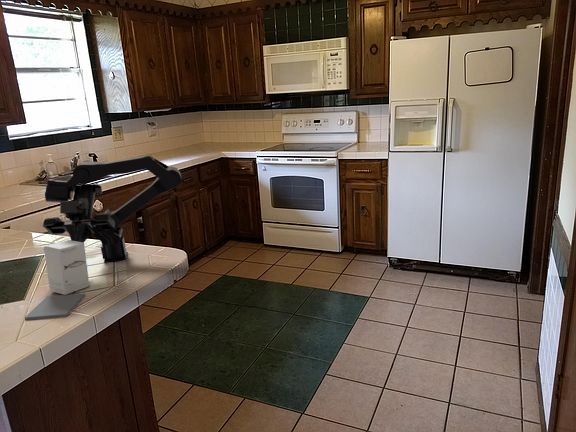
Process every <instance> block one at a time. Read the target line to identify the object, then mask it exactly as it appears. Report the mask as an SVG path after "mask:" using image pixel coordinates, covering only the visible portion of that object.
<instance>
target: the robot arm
mask: <svg viewBox="0 0 576 432" xmlns="http://www.w3.org/2000/svg"><path fill="white" fill-rule="evenodd" d="M141 170H147V171H148V172H150V173H151V174H153V175H154V176H155V177H156V179H155V180H154V181H153V182H152V183H151V184H150V185H149V186H147V187H146V188H144V189H143V190H142V191H140V192H139V193H137V194H136V195H135V196H134V197H132V198H131V199H130V200H128V201H127V202H126V203H124V204H123V205H121V206H120V207H118V209H116V210H113V211H111V210H110V209H109V208H107V209H106V210H105V211H104V212H103V213H95V208H94V204H95V203H94V202H95V197H96V194H99V195H100V194H102V195H103V189H102V185H100V184H99V183H98V182H95V181H97V180H100V179H102V178H105V177H107V176H112V175H113V176H114V175H118V174H125V173H129V172H136V171H141ZM91 182H92V183H93V182H95V183H93V184H91ZM181 183H182V173H181V172H180V170H179V169H178V168H177V167H174V166H168V165H167V164H165V163H164V162H162V161H160V160H158V159H156V158H155V157H154V156H152V155H151V154H145V155H143V156H142V155H141V156H137V157H130V158H125V159H118V160H111V161H105V162H101V161H83V162H81V163H79V164H77V165H76V166H75V167H74V168H73V170H72V176H71V177H69V178H68V179H67V180H57V179H51V178H49V179H48V180H47V183H46V187H45V192H44V198H45V202H47V203H59V210H60V211H59V213H60V214H64V216H65V218H66V219H64V220H62V219H61V218H60V217H59V216H56V217H47V218H44V220H43V223H42V228H44V229H45V230H46V231H48V232H49V233H50V234H51V235H63V234H65V233H67V234H68V235H69V237H70V240H71V241H77V242H83V243H84V244H85V242H86V241H87V240H88V238H90V236H91V235H93V237H95V238H97V239H98V240H99V241H100V242H101V246H100V251H101V255H102V260H103V262H104V263H112V262H119V261H125V260H127V257H128V254H129V252H128V251H127V247H126V242H125V237H124V236H122V235H123V230H124V229H123V228H122V227H120V225H121V224H122V223H123V222H124V221H126V220H127V219H128V218H130V217H131V216H132V215H134V214H135V213H137V212H139V210H140V209H142V208H143V207H145V206H146V205H147V204H149V203H150V202H152V201H153V200H154V199H156V198H157V197H158V196H160V195H161V194H165V193H167V192H169V191H171V190H174V189H175V188H178V186H179V185H180V184H181ZM93 213H95V214H94V215H93ZM92 216H93V218H92Z"/></svg>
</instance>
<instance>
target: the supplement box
mask: <svg viewBox="0 0 576 432" xmlns="http://www.w3.org/2000/svg"><path fill="white" fill-rule="evenodd" d="M43 251H44V252H43V253H44V259H45V266H46V272H47V279H48V287H49V291H51V292H54V293H57V294H59V295H69V294H72V293H74V292H76V291H80V290H82V289H85V288H88V287H90V281H89V271H88V264H87V255H86V247H85V242H84V243H83V242H77V241H71V239H68V240H63V241H61V242H60V241H59V242H56V243H51V244H47V245H43Z"/></svg>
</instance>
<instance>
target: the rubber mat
mask: <svg viewBox="0 0 576 432" xmlns="http://www.w3.org/2000/svg"><path fill="white" fill-rule="evenodd" d="M85 296H86V293H84V292H82V293H69V294H66V295H63V294H59V295H49V296H48V295H47V296H45V298H43V300H41V301H40V302H39V303H38V304H37V305H36V306H35V307H33V309H32V310H31V311H30V312H29V313H28V314H27V315H26V316H25V317H24V320H26V321H27V320H38V319H51V318H62V317H63V318H64V317H68V315H70V314H71V313H72V311H73V310H74V309H75V308H76V307H77V305H79V303H80V302H81V301H82V300H83V299H84V298H85Z"/></svg>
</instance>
